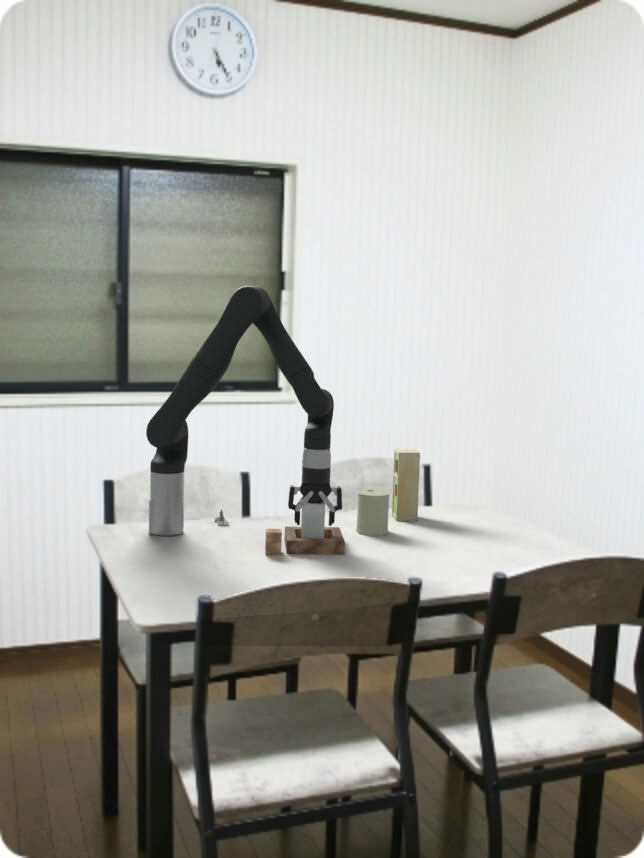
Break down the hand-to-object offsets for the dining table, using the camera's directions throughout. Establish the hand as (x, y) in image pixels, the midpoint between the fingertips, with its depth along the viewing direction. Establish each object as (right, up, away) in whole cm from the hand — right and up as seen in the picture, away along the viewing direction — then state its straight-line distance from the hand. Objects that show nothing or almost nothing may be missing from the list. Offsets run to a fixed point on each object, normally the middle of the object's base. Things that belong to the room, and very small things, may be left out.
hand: (314, 524), depth 246 cm
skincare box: (-1, -6, +1) cm, 6 cm away
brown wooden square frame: (0, -6, +1) cm, 6 cm away
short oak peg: (-11, -7, -7) cm, 14 cm away
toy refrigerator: (+27, -2, +38) cm, 46 cm away
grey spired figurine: (-26, -3, +19) cm, 33 cm away
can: (+16, -4, +19) cm, 25 cm away
